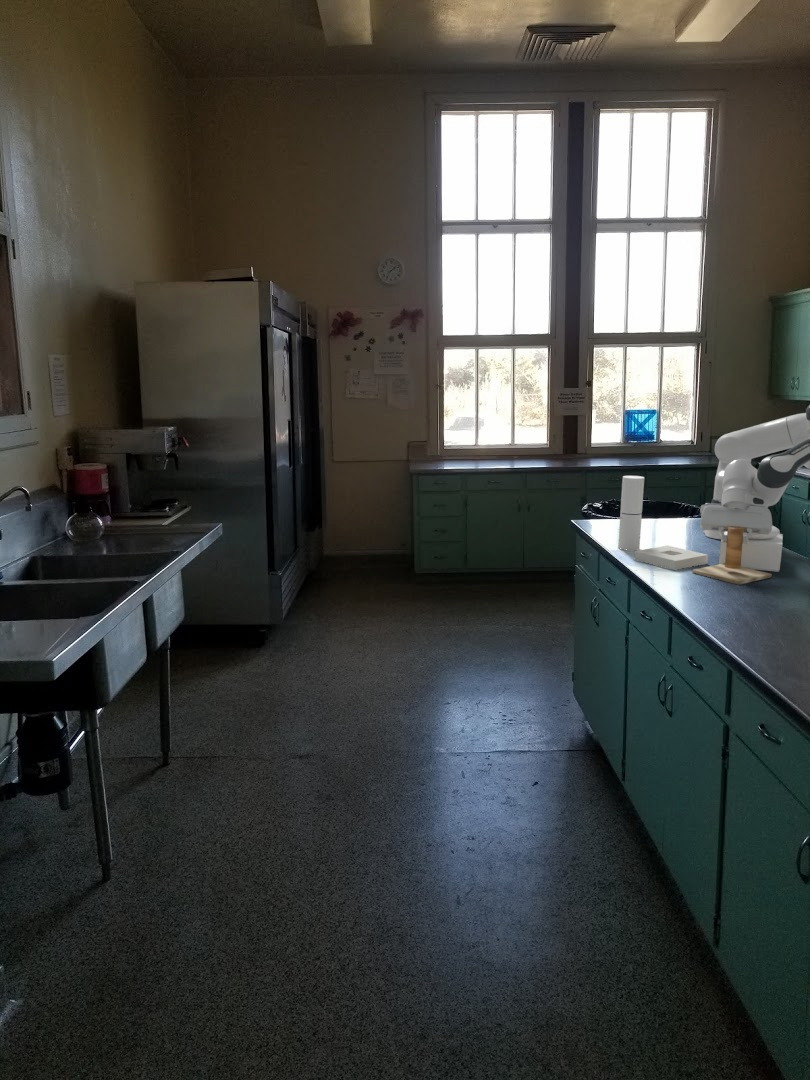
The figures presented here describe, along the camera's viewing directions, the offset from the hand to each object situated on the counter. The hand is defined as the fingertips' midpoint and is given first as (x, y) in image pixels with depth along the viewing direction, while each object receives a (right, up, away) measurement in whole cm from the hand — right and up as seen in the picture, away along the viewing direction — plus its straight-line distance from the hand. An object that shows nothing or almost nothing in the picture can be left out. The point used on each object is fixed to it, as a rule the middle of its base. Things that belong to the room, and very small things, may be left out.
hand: (734, 542), depth 238 cm
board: (0, -10, +3) cm, 10 cm away
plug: (0, -8, +2) cm, 8 cm away
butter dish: (+13, -7, +19) cm, 24 cm away
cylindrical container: (-21, -2, +38) cm, 44 cm away
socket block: (-13, -6, +19) cm, 24 cm away
